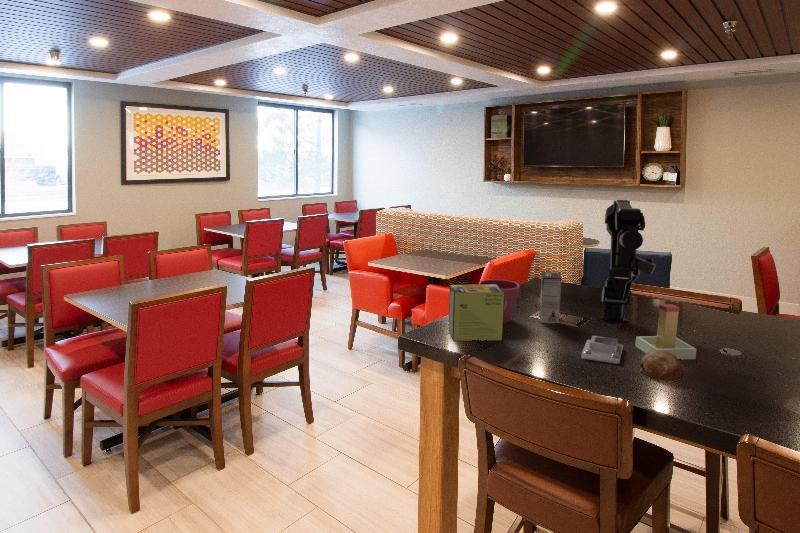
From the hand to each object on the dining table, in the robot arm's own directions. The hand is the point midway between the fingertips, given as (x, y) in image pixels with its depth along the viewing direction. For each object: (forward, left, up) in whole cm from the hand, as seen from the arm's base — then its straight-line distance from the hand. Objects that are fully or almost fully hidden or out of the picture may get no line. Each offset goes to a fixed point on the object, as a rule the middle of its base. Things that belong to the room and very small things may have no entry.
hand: (623, 299), depth 172 cm
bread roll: (+14, +26, -13) cm, 32 cm away
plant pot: (+24, -32, -12) cm, 42 cm away
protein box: (+41, -21, -12) cm, 48 cm away
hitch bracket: (+17, +9, -12) cm, 23 cm away
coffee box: (+8, -24, -12) cm, 28 cm away
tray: (0, +16, -12) cm, 20 cm away
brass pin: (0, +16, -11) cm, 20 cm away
